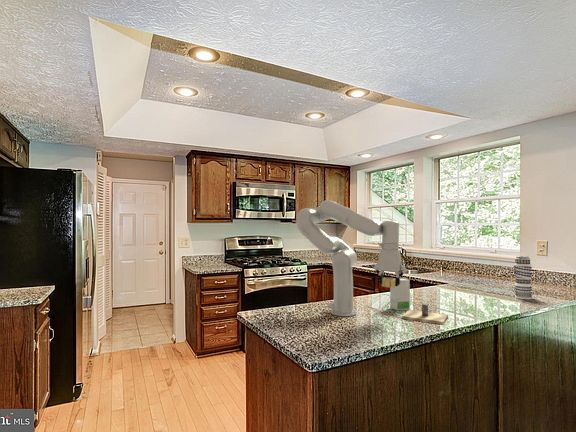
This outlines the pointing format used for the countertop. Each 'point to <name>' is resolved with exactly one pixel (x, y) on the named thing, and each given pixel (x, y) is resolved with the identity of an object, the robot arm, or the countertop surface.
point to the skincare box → (400, 296)
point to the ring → (388, 282)
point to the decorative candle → (523, 277)
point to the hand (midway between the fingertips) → (389, 284)
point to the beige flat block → (425, 316)
